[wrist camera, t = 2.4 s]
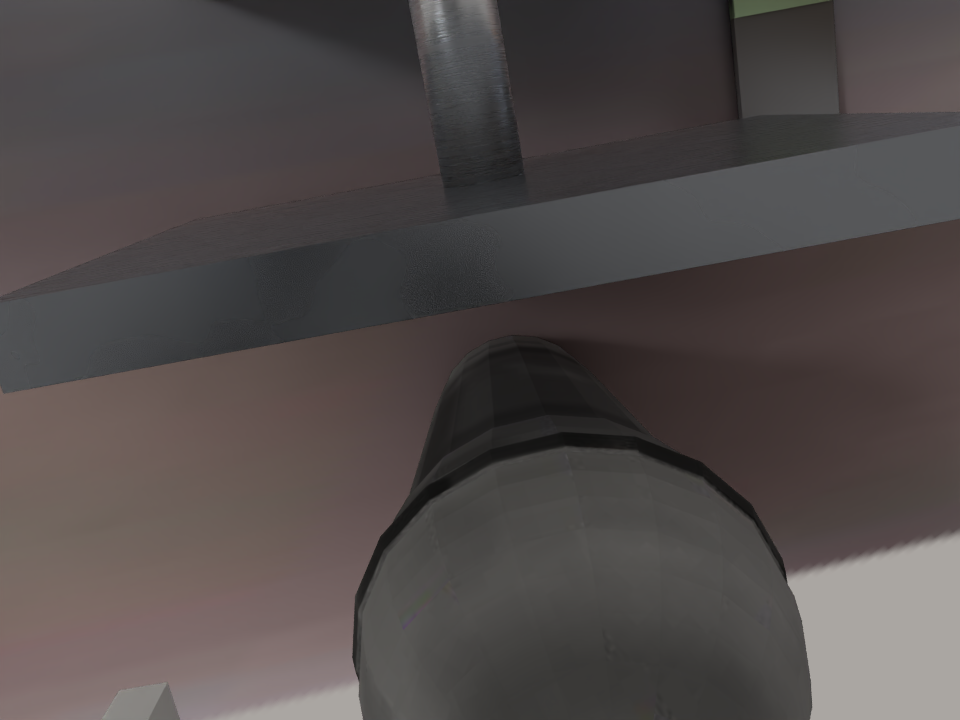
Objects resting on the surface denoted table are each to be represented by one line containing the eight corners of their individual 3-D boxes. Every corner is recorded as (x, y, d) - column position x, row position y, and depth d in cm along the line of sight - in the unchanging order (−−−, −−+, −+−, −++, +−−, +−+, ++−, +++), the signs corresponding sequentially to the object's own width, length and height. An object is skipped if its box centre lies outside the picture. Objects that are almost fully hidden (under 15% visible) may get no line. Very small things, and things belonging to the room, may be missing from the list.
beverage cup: (534, 234, 23) (926, 752, 4) (688, 419, 25) (1466, 1388, 6) (342, 397, 25) (-35, 1395, 5) (502, 564, 26) (651, 1774, 7)
